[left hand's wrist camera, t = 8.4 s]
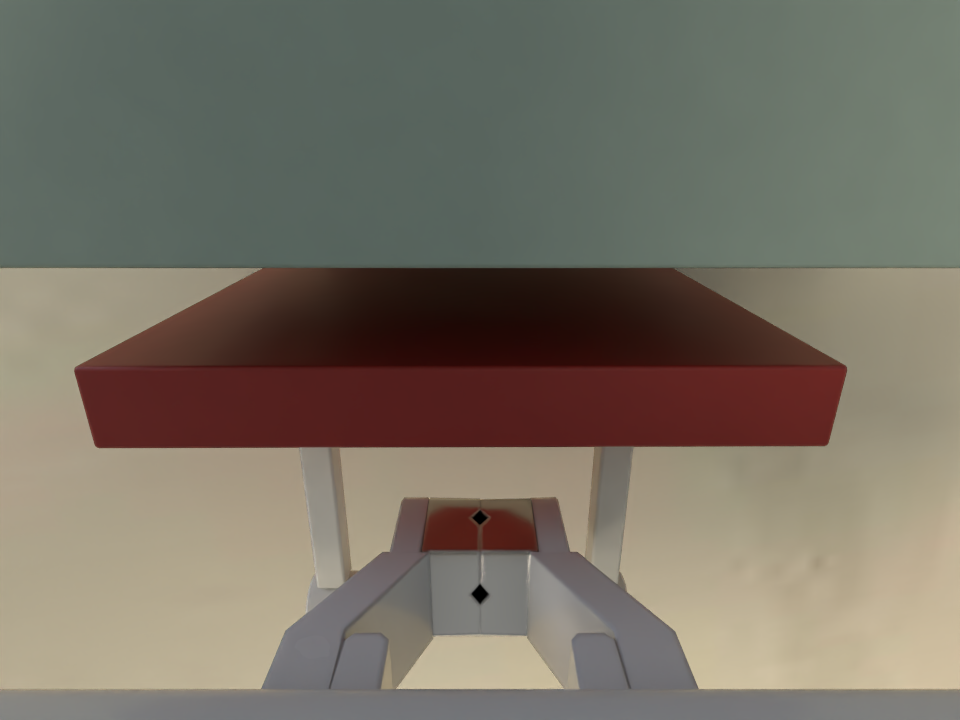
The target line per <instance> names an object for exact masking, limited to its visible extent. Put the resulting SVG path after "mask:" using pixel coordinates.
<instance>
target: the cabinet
mask: <svg viewBox="0 0 960 720" xmlns="http://www.w3.org/2000/svg"><path fill="white" fill-rule="evenodd" d="M0 268H960V0H0Z"/></svg>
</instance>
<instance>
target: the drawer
mask: <svg viewBox="0 0 960 720" xmlns="http://www.w3.org/2000/svg"><path fill="white" fill-rule="evenodd" d="M74 372H75V376H76V379H77V383H78V387H79V390H80V394H81V397H82V401H83V404H84V408H85V412H86V415H87V419H88V422H89V426H90V430H91V433H92V437H93V440H94V444H95V446H96V447H97V448H299V450H300V458H301V465H302V473H303V481H304V488H305V496H306V504H307V511H308V519H309V527H310V534H311V542H312V550H313V557H314V565H315V575H314V576H313V578H312V581H311V583H310V587H309V590H308V595H307V601H306V614H307V613H308V612H309V611H310V610H312V609H313V608H314V607H315V606H317V605H318V604H319V603H320V602H321V601H323V600H324V599H325V598H326V597H328V596H329V595H330V594H331V593H333V592H334V591H335V590H336V589H337V588H339V587H340V586H341V585H342V584H344V583H345V582H346V581H347V580H349V579H350V578H351V577H352V576H354V575H355V574H356V573H357V572H358V571H351V559H350V549H349V539H348V529H347V519H346V509H345V499H344V490H343V480H342V470H341V460H340V450H339V447H595V448H594V460H593V471H592V483H591V495H590V506H589V518H588V529H587V541H586V553H585V558H586V559H587V560H588V561H589V562H590V563H592V564H593V565H594V566H595V567H597V568H598V569H599V570H600V571H601V572H603V573H604V574H605V575H606V576H608V577H609V578H610V579H611V580H613V581H614V582H615V583H616V584H617V585H619V586H620V587H621V588H622V589H624V590H625V591H626V592H627V589H626V585H625V581H624V579H623V576H622V574H621V572H620V571H619V569H620V560H621V551H622V542H623V534H624V525H625V516H626V507H627V499H628V490H629V481H630V472H631V464H632V455H633V447H679V446H826V445H827V444H828V443H829V439H830V435H831V431H832V427H833V423H834V420H835V416H836V412H837V408H838V404H839V400H840V396H841V392H842V388H843V384H844V380H845V377H846V373H847V367H846V366H845V365H843V364H842V363H840V362H838V361H836V360H835V359H833V358H831V357H829V356H827V355H826V354H824V353H822V352H820V351H819V350H817V349H815V348H813V347H812V346H810V345H808V344H806V343H804V342H803V341H801V340H799V339H797V338H796V337H794V336H792V335H790V334H788V333H787V332H785V331H783V330H781V329H780V328H778V327H776V326H774V325H773V324H771V323H769V322H767V321H765V320H764V319H762V318H760V317H758V316H757V315H755V314H753V313H751V312H749V311H748V310H746V309H744V308H742V307H741V306H739V305H737V304H735V303H733V302H732V301H730V300H728V299H726V298H725V297H723V296H721V295H719V294H718V293H716V292H714V291H712V290H710V289H709V288H707V287H705V286H703V285H702V284H700V283H698V282H696V281H694V280H693V279H691V278H689V277H687V276H686V275H684V274H682V273H680V272H679V271H677V270H675V269H673V268H263V269H261V270H259V271H257V272H255V273H253V274H251V275H249V276H247V277H246V278H244V279H242V280H240V281H238V282H236V283H234V284H232V285H230V286H228V287H227V288H225V289H223V290H221V291H219V292H217V293H215V294H213V295H211V296H209V297H208V298H206V299H204V300H202V301H200V302H198V303H196V304H194V305H192V306H190V307H189V308H187V309H185V310H183V311H181V312H179V313H177V314H175V315H173V316H171V317H170V318H168V319H166V320H164V321H162V322H160V323H158V324H156V325H154V326H152V327H151V328H149V329H147V330H145V331H143V332H141V333H139V334H137V335H135V336H133V337H132V338H130V339H128V340H126V341H124V342H122V343H120V344H118V345H116V346H115V347H113V348H111V349H109V350H107V351H105V352H103V353H101V354H99V355H97V356H96V357H94V358H92V359H90V360H88V361H86V362H84V363H82V364H80V365H78V366H77V367H75V370H74ZM470 636H520V635H485V634H474V635H440V636H433V637H470Z"/></svg>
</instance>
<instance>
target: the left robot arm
mask: <svg viewBox="0 0 960 720" xmlns="http://www.w3.org/2000/svg"><path fill="white" fill-rule="evenodd" d="M474 634H485V635H520V636H527V639H528V640H529V641H530V643H531V644H532V645H533V647H534V648H535V649H536V651H537V652H538V654H539V655H540V656H541V658H542V659H543V660H544V662H545V663H546V664H547V666H548V667H549V669H550V670H551V671H552V673H553V674H554V675H555V677H556V678H557V680H558V681H559V682H560V684H561V685H562V686H563V688H564V689H396V688H397V687H398V685H399V684H400V683H401V681H402V680H403V679H404V677H405V676H406V674H407V673H408V672H409V670H410V669H411V668H412V666H413V665H414V664H415V662H416V661H417V660H418V658H419V657H420V655H421V654H422V653H423V651H424V650H425V649H426V647H427V646H428V645H429V643H430V642H431V640H432V639H433V636H440V635H474ZM0 720H960V689H698V686H697V684H696V681H695V679H694V676H693V674H692V672H691V669H690V667H689V664H688V662H687V659H686V657H685V655H684V652H683V650H682V647H681V645H680V642H679V640H678V637H677V635H676V633H675V631H674V630H673V629H671V628H670V627H669V626H668V625H667V624H665V623H664V622H663V621H662V620H660V619H659V618H658V617H657V616H655V615H654V614H653V613H652V612H651V611H649V610H648V609H647V608H646V607H644V606H643V605H642V604H641V603H640V602H638V601H637V600H636V599H635V598H633V597H632V596H631V595H630V594H628V593H627V592H626V591H625V590H624V589H622V588H621V587H620V586H619V585H617V584H616V583H615V582H614V581H613V580H611V579H610V578H609V577H608V576H606V575H605V574H604V573H603V572H601V571H600V570H599V569H598V568H597V567H595V566H594V565H593V564H592V563H590V562H589V561H588V560H587V559H586V558H584V557H583V556H582V555H581V554H579V553H578V552H570V549H569V545H568V541H567V537H566V532H565V528H564V524H563V519H562V515H561V511H560V506H559V502H558V499H557V498H556V497H545V498H530V499H473V498H430V499H429V498H428V497H422V498H404V499H403V500H402V502H401V506H400V510H399V515H398V519H397V523H396V528H395V532H394V536H393V541H392V545H391V549H390V552H382V553H381V554H379V555H378V556H377V557H376V558H375V559H373V560H372V561H371V562H370V563H368V564H367V565H366V566H365V567H363V568H362V569H361V570H360V571H358V572H357V573H356V574H355V575H354V576H352V577H351V578H350V579H349V580H347V581H346V582H345V583H344V584H342V585H341V586H340V587H339V588H337V589H336V590H335V591H334V592H333V593H331V594H330V595H329V596H328V597H326V598H325V599H324V600H323V601H321V602H320V603H319V604H318V605H317V606H315V607H314V608H313V609H312V610H310V611H309V612H308V613H307V614H305V615H304V616H303V617H302V618H300V619H299V620H298V621H297V622H296V623H294V624H293V625H292V626H291V627H289V628H288V629H287V630H286V631H285V633H284V636H283V638H282V640H281V643H280V645H279V648H278V650H277V652H276V655H275V657H274V660H273V662H272V664H271V667H270V669H269V672H268V674H267V676H266V679H265V681H264V684H263V686H262V688H261V689H0Z"/></svg>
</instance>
